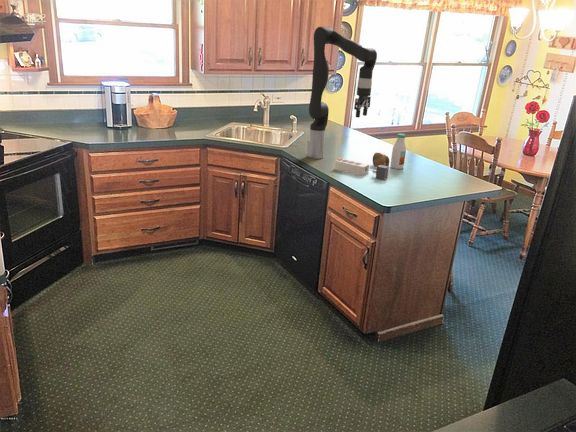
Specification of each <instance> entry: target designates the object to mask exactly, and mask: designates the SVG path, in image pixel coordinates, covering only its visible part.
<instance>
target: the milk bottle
mask: <svg viewBox="0 0 576 432" xmlns="http://www.w3.org/2000/svg"><path fill="white" fill-rule="evenodd" d="M396 135H397V136H396V138H397V139H396V141H395V142H394V144H393V147H392V152H391V159H390V164H389V167H390V169H391V168H392V169H395V170H402V169H404V167H405V159H406V152H407V145H406V143H405V139H406V134H405V133H397V134H396Z"/></svg>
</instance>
